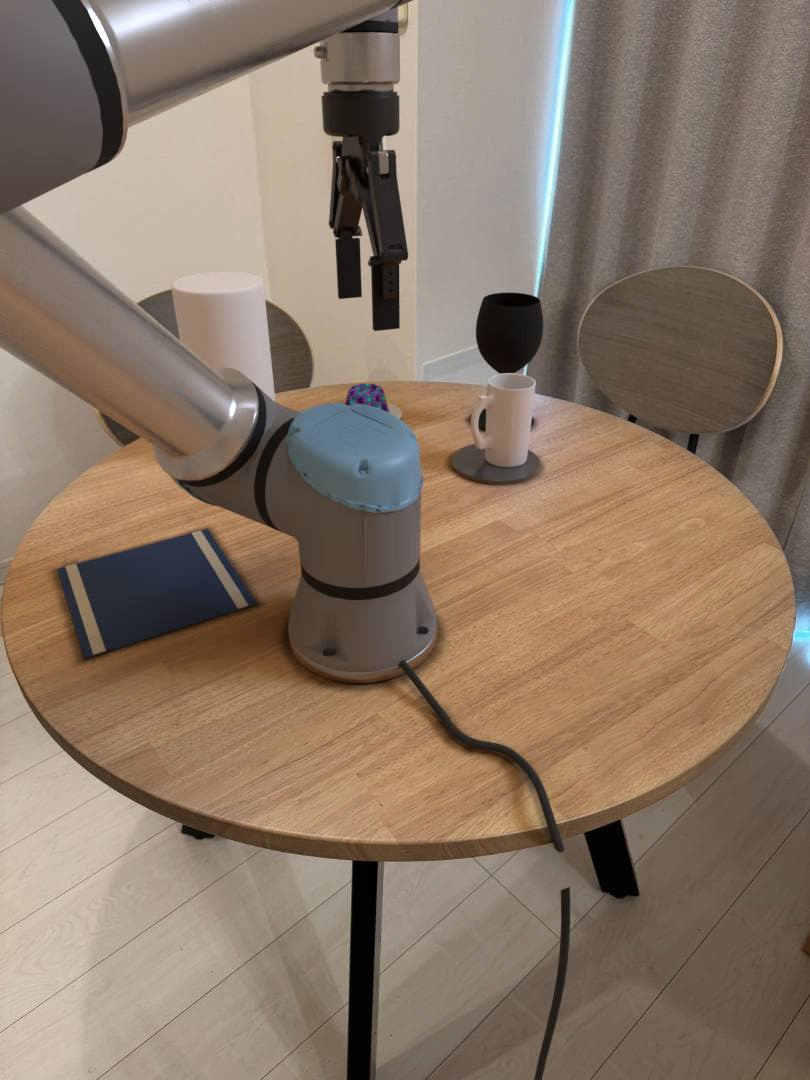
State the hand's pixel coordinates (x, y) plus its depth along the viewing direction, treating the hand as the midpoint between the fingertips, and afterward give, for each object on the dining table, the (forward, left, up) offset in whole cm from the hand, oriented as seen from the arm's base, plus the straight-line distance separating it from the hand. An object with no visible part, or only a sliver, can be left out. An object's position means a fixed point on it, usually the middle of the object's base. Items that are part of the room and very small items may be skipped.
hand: (366, 312), depth 82 cm
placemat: (-6, +28, -27) cm, 39 cm away
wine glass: (+23, -30, -27) cm, 46 cm away
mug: (+9, -22, -26) cm, 35 cm away
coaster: (+9, -22, -27) cm, 36 cm away
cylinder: (+28, +13, -27) cm, 41 cm away
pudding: (+32, -9, -27) cm, 43 cm away
